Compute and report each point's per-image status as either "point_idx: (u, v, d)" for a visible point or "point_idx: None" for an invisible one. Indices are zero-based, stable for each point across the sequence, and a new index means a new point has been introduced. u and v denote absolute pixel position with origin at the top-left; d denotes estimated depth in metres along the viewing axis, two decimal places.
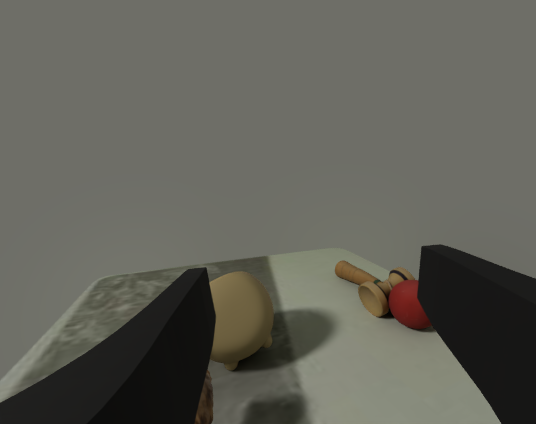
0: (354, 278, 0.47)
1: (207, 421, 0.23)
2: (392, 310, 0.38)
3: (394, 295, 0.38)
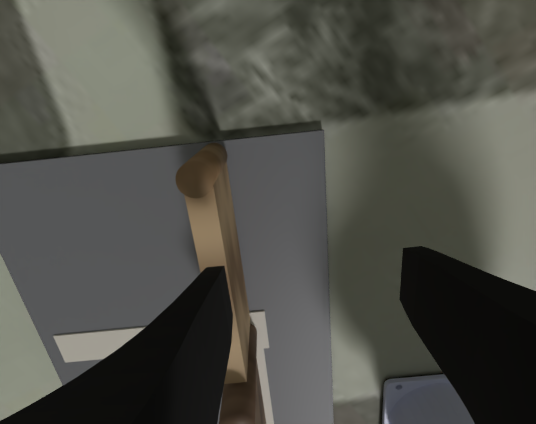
0: None
1: None
2: None
3: None
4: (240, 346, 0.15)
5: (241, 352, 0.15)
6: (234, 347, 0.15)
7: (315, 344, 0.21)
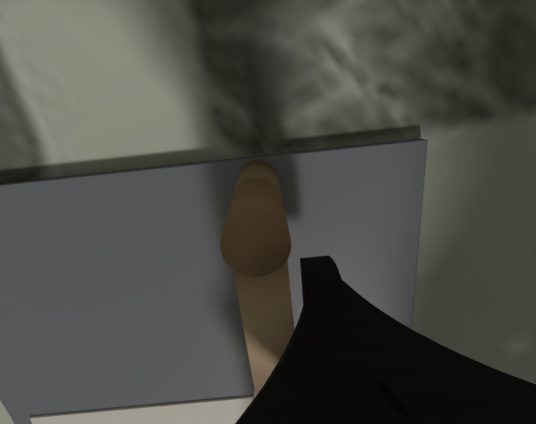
0: None
1: None
2: None
3: None
4: None
5: None
6: None
7: None
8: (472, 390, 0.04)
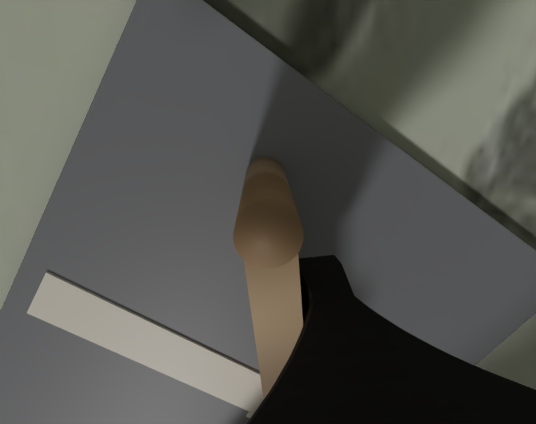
0: None
1: None
2: None
3: None
4: None
5: None
6: None
7: None
8: (462, 392, 0.04)
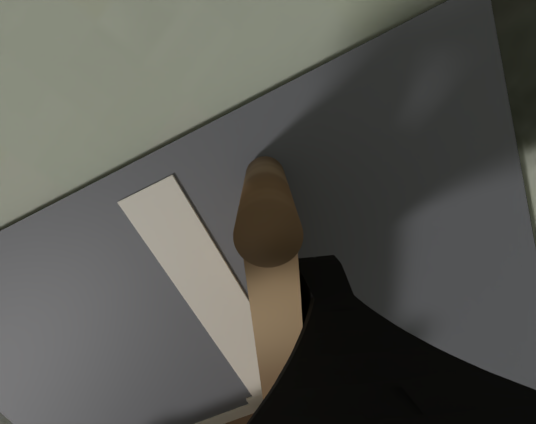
0: None
1: None
2: None
3: None
4: None
5: None
6: None
7: None
8: (462, 391, 0.04)
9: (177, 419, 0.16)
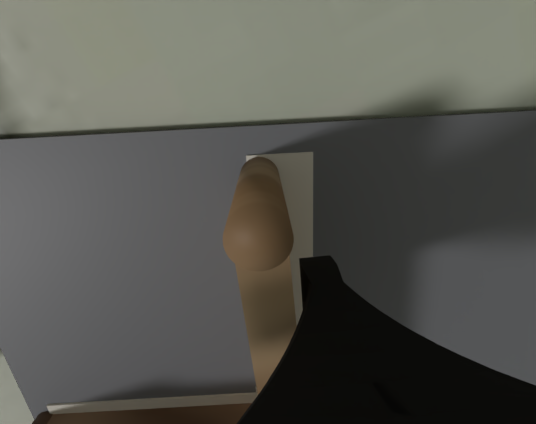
0: None
1: None
2: None
3: None
4: None
5: None
6: None
7: None
8: (471, 392, 0.04)
9: (177, 386, 0.15)
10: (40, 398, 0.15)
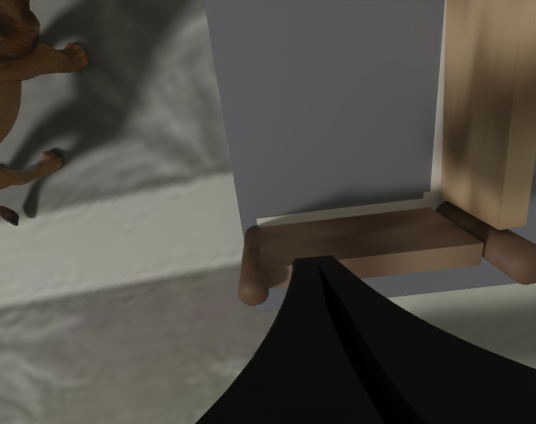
0: None
1: (15, 18, 0.11)
2: None
3: None
4: (530, 176, 0.13)
5: (529, 184, 0.13)
6: (524, 177, 0.13)
7: (414, 281, 0.21)
8: (510, 388, 0.04)
9: (361, 195, 0.18)
10: (252, 212, 0.19)
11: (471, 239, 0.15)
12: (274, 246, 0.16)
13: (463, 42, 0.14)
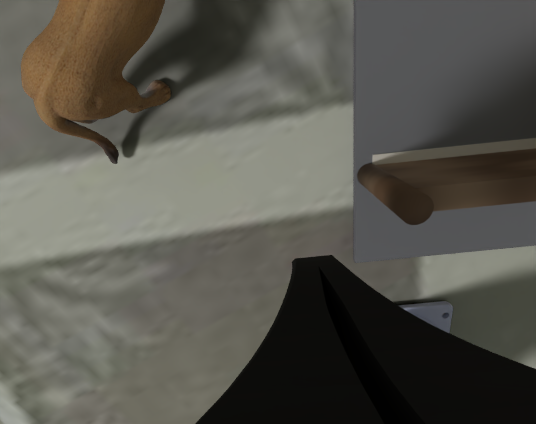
0: None
1: None
2: None
3: None
4: None
5: None
6: None
7: (526, 231, 0.20)
8: (510, 388, 0.04)
9: (487, 131, 0.17)
10: (369, 147, 0.17)
11: None
12: (410, 174, 0.15)
13: None
